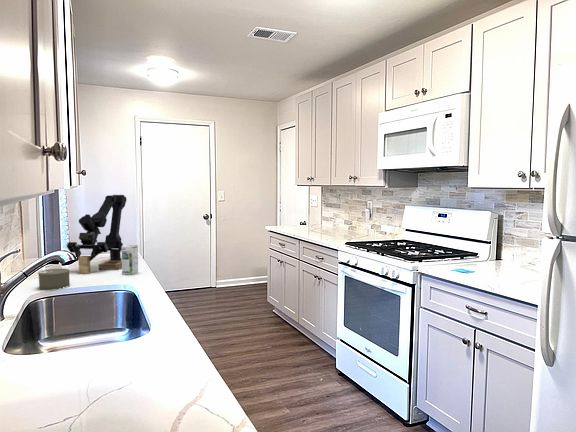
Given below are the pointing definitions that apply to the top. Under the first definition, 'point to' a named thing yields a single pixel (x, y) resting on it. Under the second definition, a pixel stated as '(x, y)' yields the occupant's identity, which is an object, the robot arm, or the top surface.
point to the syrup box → (129, 259)
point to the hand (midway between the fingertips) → (83, 260)
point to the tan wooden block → (84, 265)
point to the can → (53, 279)
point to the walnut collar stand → (110, 265)
